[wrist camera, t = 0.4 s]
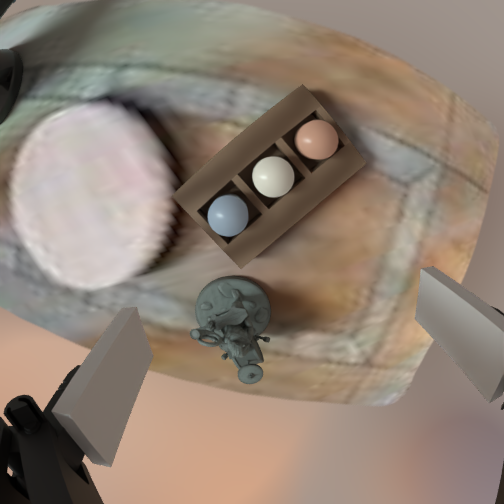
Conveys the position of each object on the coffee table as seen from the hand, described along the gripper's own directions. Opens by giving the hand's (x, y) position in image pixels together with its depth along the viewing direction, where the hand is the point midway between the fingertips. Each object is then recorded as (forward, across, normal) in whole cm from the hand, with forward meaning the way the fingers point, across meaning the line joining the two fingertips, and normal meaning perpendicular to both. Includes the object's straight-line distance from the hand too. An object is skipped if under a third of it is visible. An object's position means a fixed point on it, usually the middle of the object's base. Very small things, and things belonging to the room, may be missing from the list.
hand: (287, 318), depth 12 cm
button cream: (+23, +2, +5) cm, 24 cm away
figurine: (+26, -5, -13) cm, 30 cm away
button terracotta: (+23, +7, +8) cm, 26 cm away
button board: (+26, +2, +5) cm, 26 cm away
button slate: (+23, -3, +1) cm, 23 cm away
